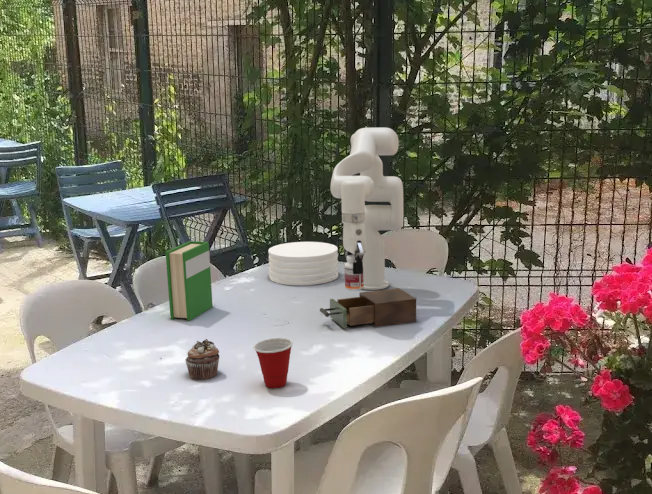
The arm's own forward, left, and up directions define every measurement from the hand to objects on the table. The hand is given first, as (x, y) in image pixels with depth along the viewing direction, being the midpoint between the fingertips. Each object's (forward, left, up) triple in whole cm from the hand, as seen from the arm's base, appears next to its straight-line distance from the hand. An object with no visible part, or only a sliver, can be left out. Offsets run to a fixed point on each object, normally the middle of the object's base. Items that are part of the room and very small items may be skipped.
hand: (354, 270), depth 283 cm
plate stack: (-66, +3, -18) cm, 68 cm away
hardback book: (-33, -49, -18) cm, 62 cm away
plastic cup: (+44, -40, -18) cm, 62 cm away
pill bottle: (0, 0, -6) cm, 6 cm away
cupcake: (+29, -57, -18) cm, 67 cm away
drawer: (0, -2, -17) cm, 17 cm away
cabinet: (0, +12, -18) cm, 21 cm away
